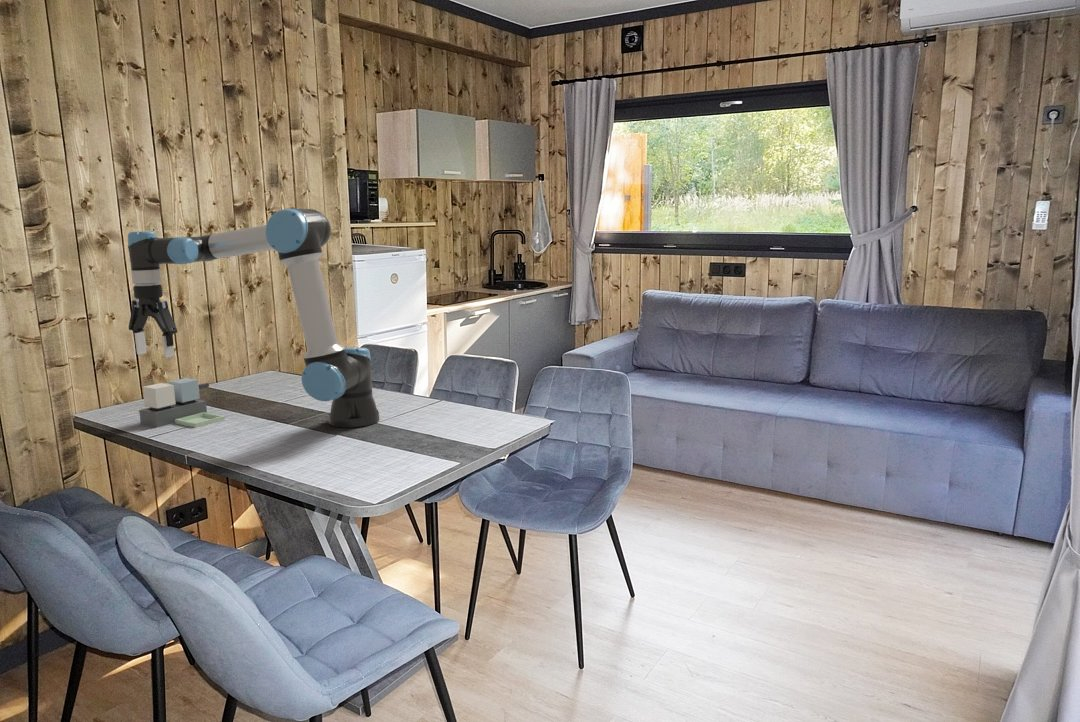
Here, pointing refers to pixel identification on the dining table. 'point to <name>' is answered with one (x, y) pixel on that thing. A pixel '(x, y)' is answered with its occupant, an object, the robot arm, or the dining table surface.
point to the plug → (159, 396)
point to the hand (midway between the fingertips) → (155, 355)
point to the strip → (177, 404)
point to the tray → (199, 419)
